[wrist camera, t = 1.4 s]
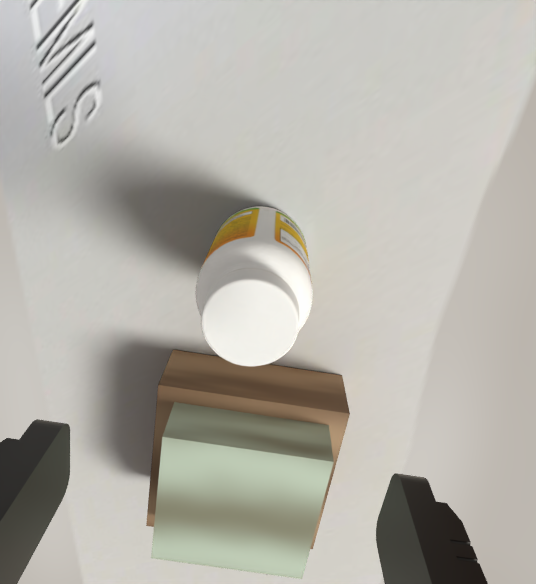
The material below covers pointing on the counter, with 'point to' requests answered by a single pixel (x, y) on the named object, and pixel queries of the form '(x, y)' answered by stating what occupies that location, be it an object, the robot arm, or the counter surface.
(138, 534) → the counter surface
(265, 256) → the supplement bottle
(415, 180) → the counter surface
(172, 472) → the podium
